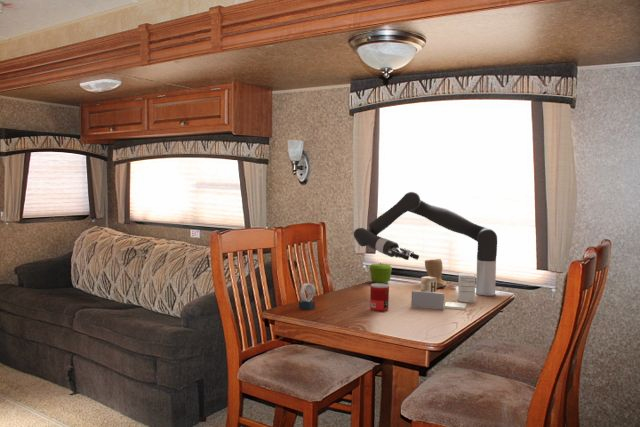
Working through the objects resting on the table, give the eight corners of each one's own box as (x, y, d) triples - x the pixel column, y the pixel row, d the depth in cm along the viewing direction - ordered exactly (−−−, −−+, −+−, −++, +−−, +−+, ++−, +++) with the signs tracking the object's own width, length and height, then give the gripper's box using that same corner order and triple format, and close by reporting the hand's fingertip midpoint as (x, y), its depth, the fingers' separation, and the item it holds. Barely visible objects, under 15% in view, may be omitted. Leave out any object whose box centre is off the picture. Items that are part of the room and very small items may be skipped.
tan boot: (426, 282, 295) (426, 256, 294) (447, 284, 291) (448, 257, 290) (421, 287, 281) (422, 259, 280) (444, 289, 277) (444, 261, 276)
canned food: (387, 312, 222) (388, 286, 222) (369, 311, 224) (369, 285, 223) (389, 308, 230) (389, 283, 229) (371, 307, 232) (371, 282, 231)
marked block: (420, 303, 242) (421, 277, 241) (427, 301, 245) (428, 276, 244) (429, 305, 238) (430, 278, 237) (436, 303, 241) (437, 277, 240)
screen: (411, 306, 235) (412, 290, 235) (443, 308, 230) (444, 293, 230) (411, 306, 233) (411, 291, 233) (443, 309, 229) (443, 293, 228)
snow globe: (316, 307, 230) (317, 282, 229) (307, 311, 223) (307, 285, 222) (306, 306, 233) (306, 281, 232) (296, 309, 226) (296, 284, 225)
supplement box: (457, 298, 253) (458, 272, 252) (473, 299, 251) (474, 273, 251) (458, 301, 246) (459, 275, 245) (474, 302, 244) (475, 275, 243)
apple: (385, 285, 284) (385, 265, 284) (365, 283, 291) (365, 263, 291) (395, 282, 295) (395, 262, 294) (375, 280, 302) (376, 260, 301)
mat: (446, 304, 240) (446, 301, 240) (466, 305, 237) (466, 303, 237) (444, 308, 232) (444, 305, 232) (465, 309, 229) (465, 307, 229)
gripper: (380, 239, 254) (407, 250, 243) (397, 239, 264) (423, 250, 253) (376, 254, 255) (403, 265, 244) (393, 254, 265) (419, 264, 255)
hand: (413, 257), depth 249 cm, fingers open, 8 cm apart
